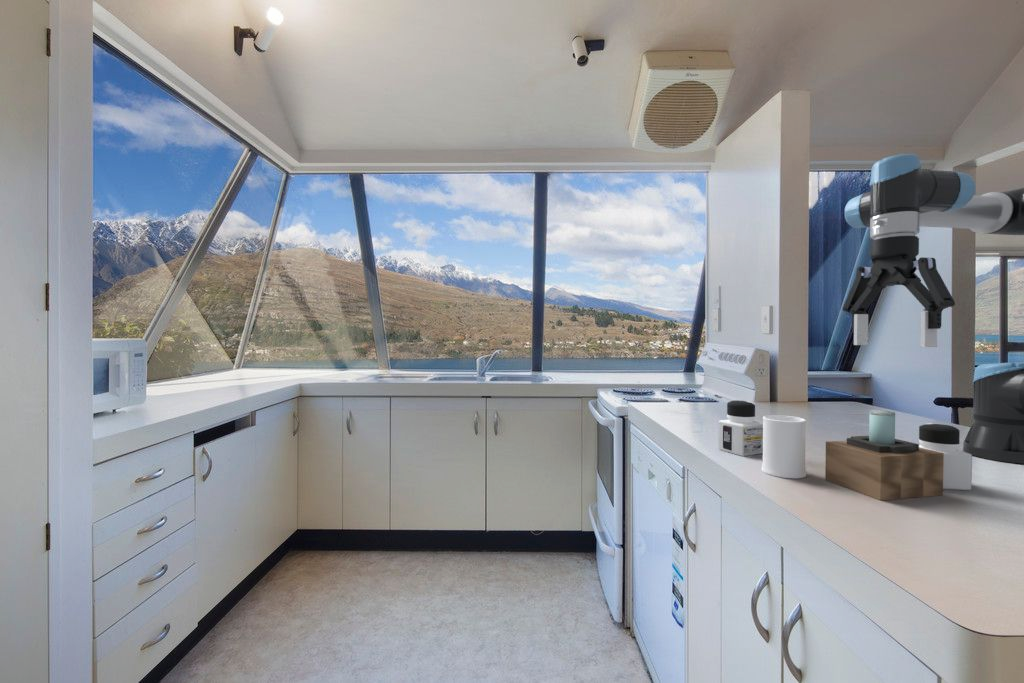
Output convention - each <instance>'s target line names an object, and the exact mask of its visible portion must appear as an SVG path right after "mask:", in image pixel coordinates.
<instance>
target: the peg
mask: <svg viewBox="0 0 1024 683" xmlns="http://www.w3.org/2000/svg"><path fill="white" fill-rule="evenodd" d="M868 412H869V413H868V414H869V415H868V417H869V418H868V419H869V420H868V422H869V426H868V433H869V434H868V436H869V441H870V442H874V443H879V444H883V445H887V444H895V439H896V412H894V411H889V410H878V409H877V410H876V409H872V410H871V409H870V410H869V411H868Z"/></svg>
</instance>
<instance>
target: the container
mask: <svg viewBox="0 0 1024 683" xmlns="http://www.w3.org/2000/svg"><path fill="white" fill-rule="evenodd" d="M726 404H727V405H726V418H727V419H720V420H719V421H718V443H717V444H718V450H719V451H724V452H727V453H730V454H732V455H733V454H734V455H736V456H740V457H745V456H747V457H748V456H752V455H753V456H754V455H759V454H763V422H760V421H755V420H756V404H755V403H754V402H751V401H748V400H737V399H736V400H731V401H728V402H727V403H726Z"/></svg>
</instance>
